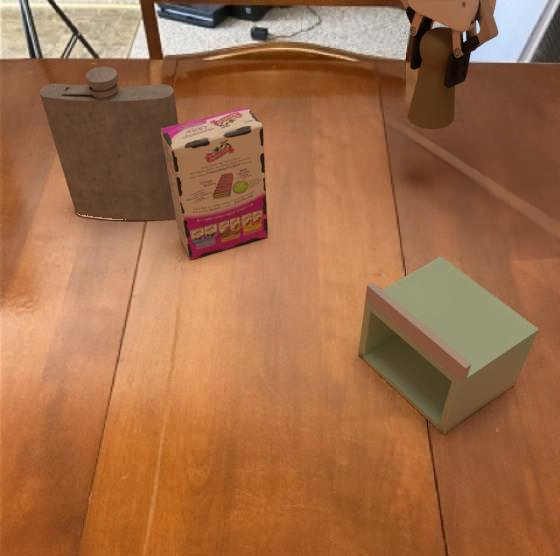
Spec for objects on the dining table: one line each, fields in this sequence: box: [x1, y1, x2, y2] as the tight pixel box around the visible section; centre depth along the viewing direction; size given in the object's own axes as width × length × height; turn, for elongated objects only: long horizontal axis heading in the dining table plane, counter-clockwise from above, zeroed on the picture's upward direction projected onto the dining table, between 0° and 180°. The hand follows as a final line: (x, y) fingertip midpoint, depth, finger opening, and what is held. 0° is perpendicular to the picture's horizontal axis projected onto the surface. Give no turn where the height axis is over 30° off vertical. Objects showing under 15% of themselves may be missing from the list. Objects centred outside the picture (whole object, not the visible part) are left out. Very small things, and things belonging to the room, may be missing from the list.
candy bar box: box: [160, 106, 269, 260], centre depth 84 cm, size 11×5×16 cm, turn 114°
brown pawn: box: [407, 26, 456, 130], centre depth 85 cm, size 6×6×11 cm
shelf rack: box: [357, 255, 540, 436], centre depth 71 cm, size 11×14×11 cm
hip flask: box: [39, 66, 179, 222], centre depth 86 cm, size 16×4×20 cm, turn 88°
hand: (437, 73), depth 85 cm, fingers closed on brown pawn, 5 cm apart
